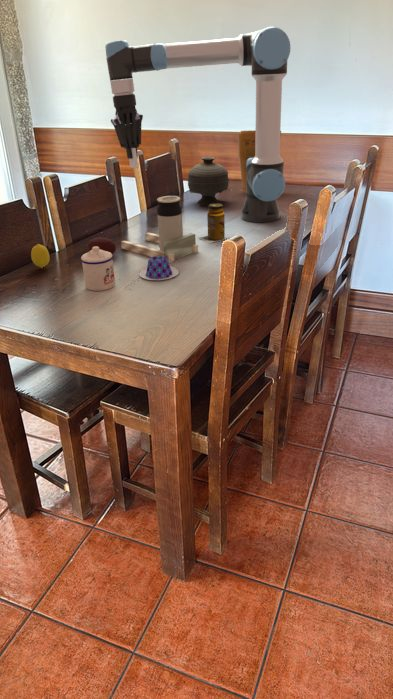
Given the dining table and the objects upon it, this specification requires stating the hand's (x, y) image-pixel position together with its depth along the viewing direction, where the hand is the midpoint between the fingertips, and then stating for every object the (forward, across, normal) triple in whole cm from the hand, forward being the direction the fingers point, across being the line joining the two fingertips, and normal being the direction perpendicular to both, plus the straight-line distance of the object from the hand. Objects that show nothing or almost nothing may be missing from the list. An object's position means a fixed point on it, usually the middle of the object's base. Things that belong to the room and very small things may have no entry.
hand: (134, 167), depth 188 cm
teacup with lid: (+25, +42, +26) cm, 55 cm away
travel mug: (+25, +9, +24) cm, 36 cm away
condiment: (+26, -11, +25) cm, 38 cm away
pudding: (+26, +26, +34) cm, 50 cm away
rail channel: (+25, +10, +18) cm, 33 cm away
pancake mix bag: (+26, -76, -2) cm, 80 cm away
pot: (+25, -48, -10) cm, 55 cm away
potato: (+24, +25, +7) cm, 36 cm away
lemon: (+23, +45, 0) cm, 50 cm away
